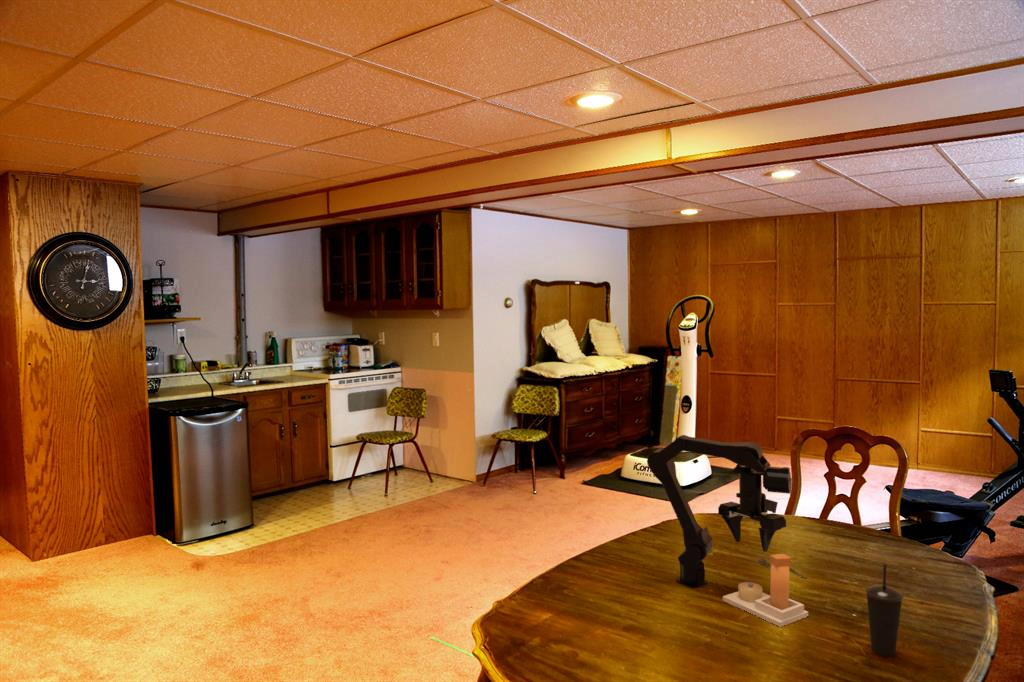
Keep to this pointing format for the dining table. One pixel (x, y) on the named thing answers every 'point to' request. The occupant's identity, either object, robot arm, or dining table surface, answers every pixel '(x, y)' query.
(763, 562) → the hacksaw
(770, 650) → the dining table surface
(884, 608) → the drinking cup
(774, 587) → the orange square-topped peg
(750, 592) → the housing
